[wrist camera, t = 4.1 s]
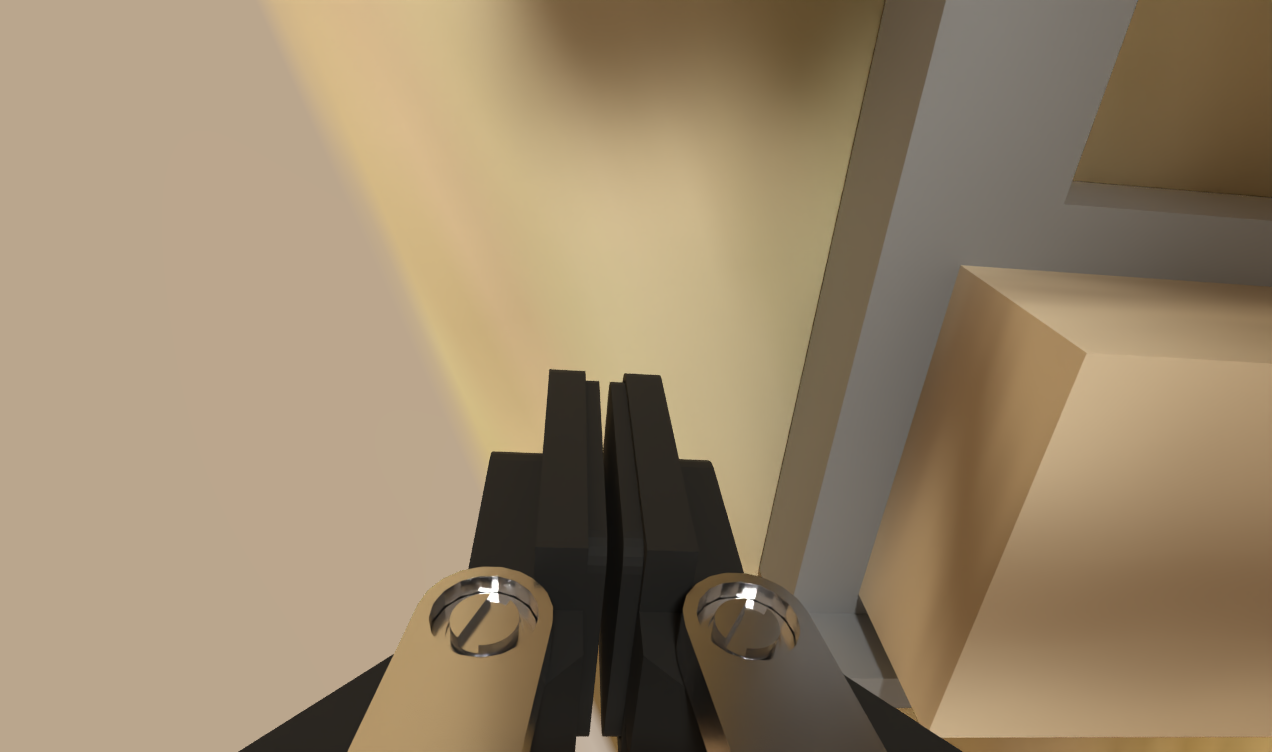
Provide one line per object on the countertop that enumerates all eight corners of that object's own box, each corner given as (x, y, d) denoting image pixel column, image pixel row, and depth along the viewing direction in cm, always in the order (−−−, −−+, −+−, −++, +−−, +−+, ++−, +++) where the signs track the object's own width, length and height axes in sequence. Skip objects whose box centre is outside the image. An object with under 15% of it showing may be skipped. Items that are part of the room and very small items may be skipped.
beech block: (960, 265, 11) (1087, 352, 8) (1351, 292, 11) (1587, 381, 9) (858, 593, 14) (925, 738, 11) (1173, 599, 14) (1309, 737, 12)
